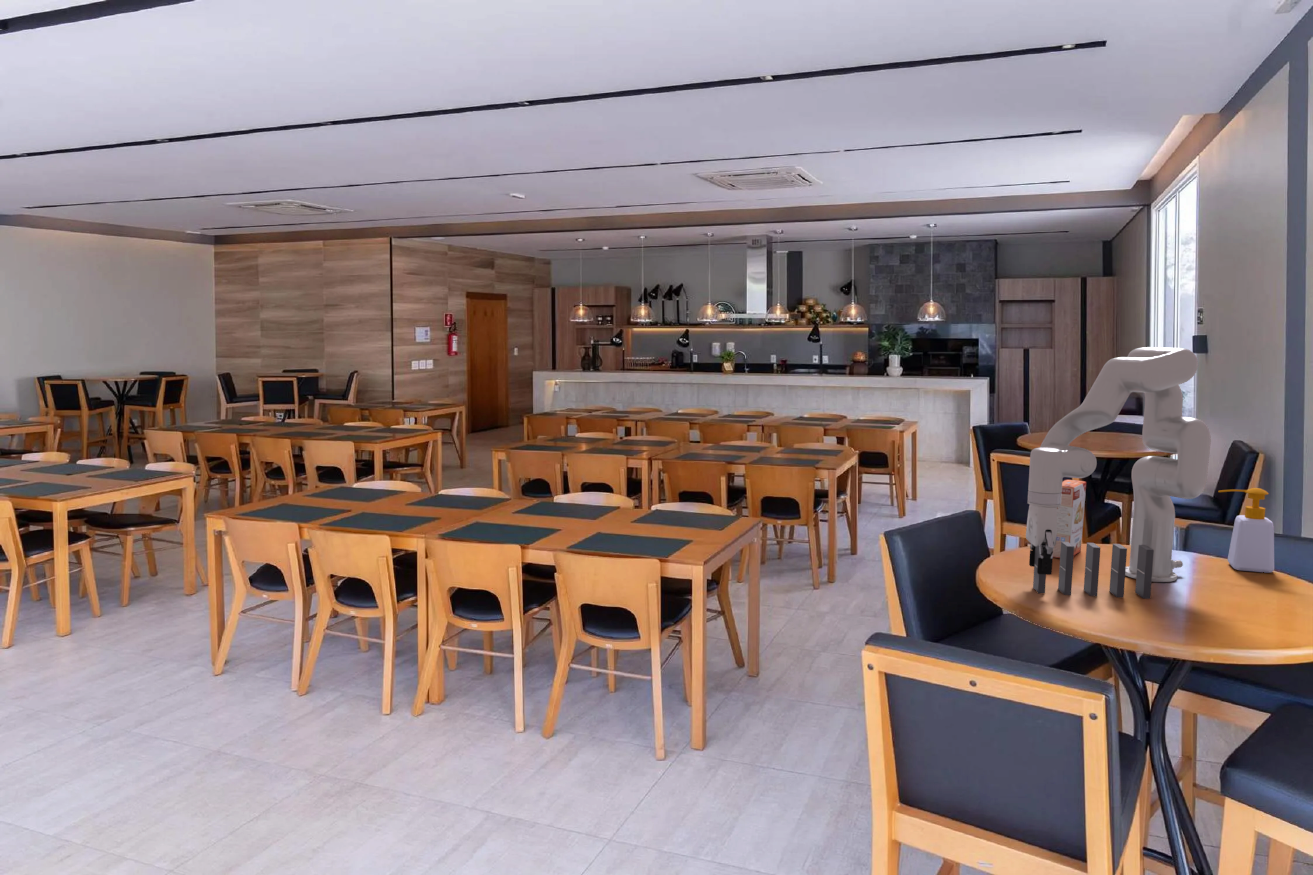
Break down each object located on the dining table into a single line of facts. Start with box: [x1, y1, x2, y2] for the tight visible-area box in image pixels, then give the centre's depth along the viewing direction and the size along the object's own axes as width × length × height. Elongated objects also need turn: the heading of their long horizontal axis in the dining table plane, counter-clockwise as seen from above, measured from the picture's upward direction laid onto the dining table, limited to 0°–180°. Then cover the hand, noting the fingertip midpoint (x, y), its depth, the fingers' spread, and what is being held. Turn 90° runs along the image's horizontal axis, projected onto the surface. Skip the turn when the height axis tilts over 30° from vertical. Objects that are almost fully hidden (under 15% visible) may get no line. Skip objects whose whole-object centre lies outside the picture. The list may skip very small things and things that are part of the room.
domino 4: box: [1108, 543, 1128, 598], centre depth 222 cm, size 2×5×12 cm, turn 172°
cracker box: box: [1053, 479, 1087, 559], centre depth 262 cm, size 14×6×21 cm, turn 142°
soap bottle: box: [1218, 487, 1275, 574], centre depth 249 cm, size 10×14×22 cm
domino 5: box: [1134, 545, 1154, 600], centre depth 221 cm, size 2×5×12 cm, turn 172°
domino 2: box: [1057, 542, 1075, 596], centre depth 224 cm, size 2×5×12 cm, turn 172°
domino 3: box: [1083, 542, 1101, 597], centre depth 223 cm, size 2×5×12 cm, turn 172°
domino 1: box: [1032, 543, 1047, 594], centre depth 225 cm, size 2×5×12 cm, turn 171°
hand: (1040, 569), depth 225 cm, fingers open, 6 cm apart
